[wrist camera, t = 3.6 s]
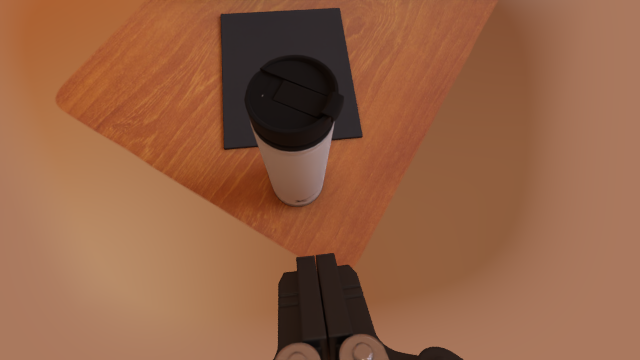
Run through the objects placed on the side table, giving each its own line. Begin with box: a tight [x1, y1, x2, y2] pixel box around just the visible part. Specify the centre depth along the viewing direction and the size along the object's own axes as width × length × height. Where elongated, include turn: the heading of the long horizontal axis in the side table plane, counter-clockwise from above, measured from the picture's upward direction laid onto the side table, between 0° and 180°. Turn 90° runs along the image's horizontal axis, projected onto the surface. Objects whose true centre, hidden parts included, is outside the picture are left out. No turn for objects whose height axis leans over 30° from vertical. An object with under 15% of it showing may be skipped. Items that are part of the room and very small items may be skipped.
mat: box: [221, 8, 362, 149], centre depth 43 cm, size 22×18×1 cm
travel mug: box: [244, 55, 344, 207], centre depth 28 cm, size 6×7×20 cm
